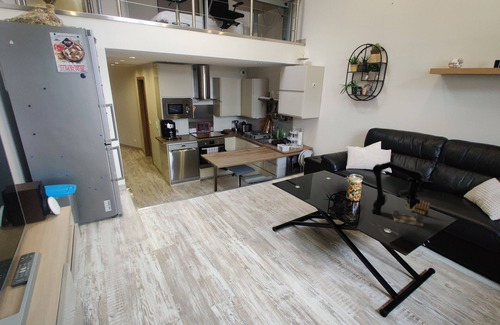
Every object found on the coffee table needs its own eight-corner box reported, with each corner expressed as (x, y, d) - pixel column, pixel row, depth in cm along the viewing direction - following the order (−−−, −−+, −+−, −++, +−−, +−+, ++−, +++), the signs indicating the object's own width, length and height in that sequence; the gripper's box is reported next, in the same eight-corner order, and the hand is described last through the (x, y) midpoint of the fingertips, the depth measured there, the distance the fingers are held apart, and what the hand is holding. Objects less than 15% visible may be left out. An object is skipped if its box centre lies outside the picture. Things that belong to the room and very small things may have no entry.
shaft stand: (394, 221, 181) (396, 214, 179) (392, 215, 190) (393, 209, 188) (422, 226, 175) (424, 219, 173) (418, 219, 184) (420, 213, 182)
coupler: (404, 206, 183) (405, 200, 181) (413, 207, 181) (414, 201, 179) (405, 209, 178) (407, 203, 177) (414, 210, 176) (416, 204, 175)
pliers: (391, 238, 159) (364, 224, 175) (391, 239, 159) (364, 225, 175) (399, 234, 163) (372, 221, 180) (399, 235, 163) (372, 222, 180)
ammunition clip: (411, 212, 196) (414, 198, 193) (412, 211, 197) (415, 197, 194) (427, 217, 188) (430, 203, 185) (427, 216, 190) (431, 202, 186)
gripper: (398, 182, 186) (394, 200, 190) (403, 190, 169) (399, 210, 173) (415, 184, 182) (411, 203, 187) (422, 193, 166) (417, 213, 170)
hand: (409, 207), depth 179 cm, fingers closed on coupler, 5 cm apart
